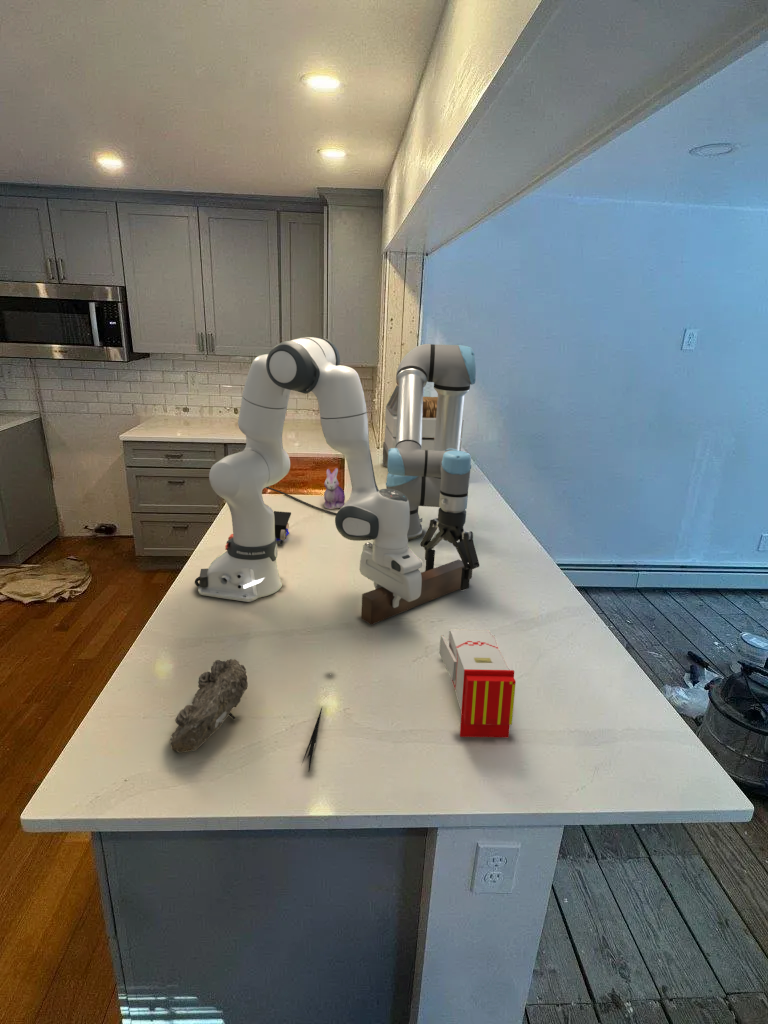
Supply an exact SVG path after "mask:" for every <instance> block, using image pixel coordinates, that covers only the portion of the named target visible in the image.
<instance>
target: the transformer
mask: <svg viewBox="0 0 768 1024" xmlns="http://www.w3.org/2000/svg"><path fill="white" fill-rule="evenodd" d="M398 394H399V386H398V385H397V384H396V386H395V388H394V389H393V392H392V393H391V395H390V398H389V400H388V402H387V403H386V405H385V413H384V414H385V416H384V424H385V425H384V426H385V427H384V440H383V441H382V442H383V443H382V463H381V464H382V465H383V467H386V468H387V467H388V451H389V449H391V448H395V445H396V428H397V411H398ZM437 399H438V396H423V416H422V447H421V450H433V451H434V438H435V425H436V412H437ZM463 431H464V419H463V418H462V426H461V437H460V447H459V451H462V443H463V442H462V438H463Z"/></svg>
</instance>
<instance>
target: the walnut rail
mask: <svg viewBox="0 0 768 1024" xmlns="http://www.w3.org/2000/svg"><path fill="white" fill-rule="evenodd" d="M463 567H464V564H463V562H462V560H461V559H460V558H459V559H458V558H457V559H456V560H453V561H450V562H448V563H445V564H442V565H439V566H437V567H434V568H433V569H431V570H428V571H425V570H424V571H423V572H421V577H422V585H421V595H420V597H419V598H417V599H415V600H413V601H410V602H408V601H406V600H405V599H403V598H401V599H400V600H399V606H398V607H396V608H394V607H392V606H391V605H390V600H392V599H394V597H395V596H393V592H391V591H389V590H387V589H386V588H384V587H380V588H378V589H375V588H374V589H372V590H369V591H367V592H364V593H362V594H361V613H360V615H361V616H360V619H361V620H363V621H365V622H366V623H367V624H369V625H371V626H372V625H375V624H377V623H379V622H382V621H384V620H387V619H389V618H391V617H394V616H396V615H399V614H401V613H404V612H407V611H409V610H412V609H414V608H417V607H419V606H421V605H423V604H426V603H428V602H431V601H433V600H435V599H438V598H440V597H441V598H442V597H444V596H446V595H449V594H451V593H453V592H455V591H458V590H460V586H461V576H462V568H463Z"/></svg>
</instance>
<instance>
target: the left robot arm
mask: <svg viewBox="0 0 768 1024" xmlns="http://www.w3.org/2000/svg"><path fill="white" fill-rule="evenodd" d="M340 364H341V356H340V352H339V350H338V348H337V346H336V345H335V344H334V343H333V342H332V341H331V340H330V339H327V338H326V337H321V336H312V337H311V336H304V337H297V338H294V339H292V340H284V341H282V342H279V343H278V344H276V345H275V346H274V347H272V348H271V350H270V351H269V353H266V354H260V355H258V356H256V357H255V358H254V359H253V360H252V363H251V364H250V367H249V369H248V373H247V375H246V378H245V382H244V386H243V390H242V397H241V401H240V407H239V413H238V419H237V426H238V429H239V430H240V432H241V433H242V434H243V435H245V442H246V443H245V447H244V449H242V451H239V452H235V453H231V454H229V455H226V456H225V457H223V458H221V459H219V460H218V461H217V462H215V463H214V464H213V465H212V466H211V467H210V469H209V474H208V479H209V484H210V487H211V489H212V490H213V492H214V493H215V494H216V495H217V496H218V497H219V498H222V499H223V500H224V501H225V502H226V504H227V507H228V509H229V511H230V516H231V524H232V533H231V534H230V535H229V536H228V538H227V541H226V544H225V546H224V547H225V548H224V552H223V553H221V554H220V555H219V556H217V557H216V558H215V559H213V561H212V562H211V563H210V564H209V566H208V568H200V572H199V576H198V577H197V578H196V579H195V580H194V584H195V586H196V587H197V589H198V590H197V592H198V594H199V595H200V596H204V597H205V596H206V597H212V598H220V599H225V600H233V601H239V602H245V603H251V602H254V601H255V600H257V599H260V598H263V597H267V596H268V597H269V596H270V595H273V594H275V593H277V592H278V591H279V590H281V588H282V586H283V582H282V579H281V576H280V573H279V568H278V561H277V560H278V559H277V558H278V541H277V540H276V537H275V518H274V510H273V509H272V507H270V506H269V505H268V504H266V503H265V501H264V498H263V490H264V489H267V488H266V487H271V486H274V485H277V484H278V483H279V482H280V481H281V480H282V479H284V478H285V477H286V476H287V475H288V474H289V472H290V469H291V458H290V456H289V454H288V453H287V451H286V450H285V449H284V443H283V432H284V426H285V421H286V415H287V409H288V405H289V401H290V395H291V392H292V391H294V392H297V393H301V394H305V395H307V394H310V393H312V394H313V395H314V396H315V397H316V401H317V404H318V410H319V411H318V412H319V417H320V426H321V431H322V434H323V438H324V440H325V442H326V444H327V445H328V446H329V447H330V448H331V449H332V450H334V451H336V452H337V453H340V454H342V455H343V457H344V458H345V460H346V463H347V469H348V474H349V480H350V484H351V490H350V491H351V493H350V496H349V498H348V500H347V501H346V502H344V505H343V506H342V507H340V509H339V510H338V511H337V512H336V513H337V514H336V515H335V517H334V524H335V528H336V530H337V532H338V533H339V534H340V536H342V538H344V539H346V540H349V541H353V542H355V541H357V542H358V541H359V542H361V541H363V542H364V541H368V542H365V543H364V544H363V545H362V551H361V553H360V554H361V555H360V559H359V572H360V575H362V576H363V577H365V578H366V579H368V580H370V581H372V582H373V585H374V590H375V589H378V588H380V587H384V588H386V589H387V590H389V591H391V592H393V596H395V597H394V599H392V600H390V605H391V606H392V607H394V608H396V607H398V606H399V600H400V599H401V598H403V599H405V600H406V601H408V602H410V601H413V600H415V599H417V598H419V597H420V595H421V585H422V577H421V573H422V572H421V570H420V569H422V567H423V561H422V559H421V558H420V557H419V556H418V555H416V553H415V552H414V551H413V550H412V549H411V548H410V546H409V540H408V538H407V533H408V530H409V524H410V508H409V501H408V499H407V497H406V496H405V495H404V494H403V493H402V492H400V491H397V490H394V489H386V488H381V489H379V487H378V485H377V482H376V476H375V471H374V464H373V459H372V453H371V447H370V436H369V431H370V430H369V419H368V418H369V416H368V410H367V403H366V397H365V393H364V389H363V385H362V381H361V379H360V375H359V373H358V372H357V371H356V370H355V369H354V368H353V367H350V366H347V365H340ZM369 541H372V542H369Z"/></svg>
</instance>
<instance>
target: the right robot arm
mask: <svg viewBox="0 0 768 1024" xmlns="http://www.w3.org/2000/svg"><path fill="white" fill-rule="evenodd" d="M475 354H476V353H475V351H474V349H473V347H471V346H467V345H460V344H434V343H433V344H432V343H423V344H419V345H417V346H415V347H413V348H412V349H411V350H410V351H408V352H407V353H405V355H404V356H403V358H402V359H401V361H400V362H399V364H398V367H397V369H396V374H395V375H396V376H395V383H396V386H397V385H398V386H399V394H398V411H397V428H396V445H395V448H391V449H389V451H388V467H386V468H387V470H386V471H387V472H388V473H387V475H386V482H385V486H386V488H385V489H394V490H397V491H400V492H402V493H403V494H404V495H405V496H406V497H407V499H408V501H409V508H410V524H409V530H408V533H407V538H408V541H410V540H415V539H418V538H420V537H421V536H422V535H423V525H422V524H421V523H422V522H423V517H421V518H420V515H419V507H427V508H429V507H431V508H438V510H437V517H435V518H433V519H430V520H429V526H428V528H427V530H426V532H425V533H424V535H423V537H422V539H421V541H420V543H419V546H420V547H423V549H424V560H425V567H424V568H425V569H424V572H425V571H428V570H431V569H433V568H435V558H436V557H435V556H436V550H435V547H436V546H437V545H438V544H439V543H441V541H442V540H443V541H447V542H449V543H450V544H452V546H453V547H455V549H456V551H457V553H458V555H459V559H460V560H461V561H462V562H463V564H464V567H463V568H462V576H461V586H460V589H459V590H460V591H462V592H463V591H465V590H467V589H470V581H471V580H472V578H473V570H475V569H476V568H477V569H478V568H480V561H479V558H478V554H477V550H476V545H475V543H474V533H473V531H471V530H469V531H466V530H465V529H464V526H465V524H466V522H467V521H466V519H467V509H468V500H469V499H468V498H469V486H470V477H471V470H472V455H471V454H470V453H469V452H466V451H463V450H461V451H459V447H460V440H461V438H460V437H461V426H462V419H463V414H464V403H465V395H466V394H467V393H468V392H470V388H471V386H473V385H475V384H476V380H477V363H476V355H475ZM427 383H433V389H434V391H436V393H437V397H438V399H437V412H436V425H435V438H434V451H433V450H421V447H422V416H423V397H424V388H425V387H426V386H427ZM265 489H267V490H270V491H274V492H276V493H279V494H282V495H283V496H286V497H289V498H291V499H293V500H295V501H298V502H299V503H302V504H304V505H306V506H309V507H311V508H314V509H316V510H318V511H322V512H325V513H327V514H331V515H334V516H336V514H337V512H334V511H330V510H328V509H324V508H321V507H319V506H315V505H313V504H310V503H308V502H306V501H303V500H301V499H300V498H298V497H295V496H293V495H291V494H288V493H286V492H284V491H281V490H278V489H275V488H272V487H271V486H269V487H266V488H265ZM437 530H438V532H437ZM436 532H437V533H436Z"/></svg>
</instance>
